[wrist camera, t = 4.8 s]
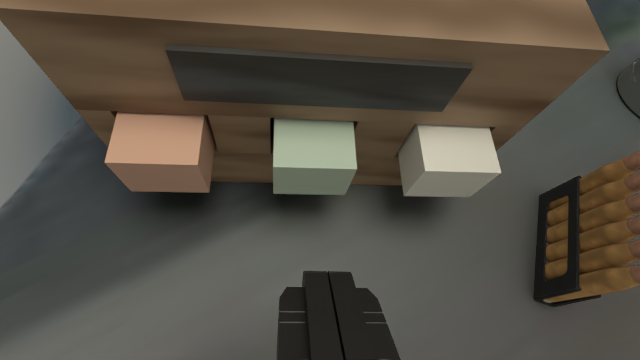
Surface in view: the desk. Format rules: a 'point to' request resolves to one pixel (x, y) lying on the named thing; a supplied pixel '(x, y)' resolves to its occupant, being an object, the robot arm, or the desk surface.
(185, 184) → the terracotta key
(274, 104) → the keypad console
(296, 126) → the sage key
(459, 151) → the cream key
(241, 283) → the desk surface
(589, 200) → the ammunition clip
